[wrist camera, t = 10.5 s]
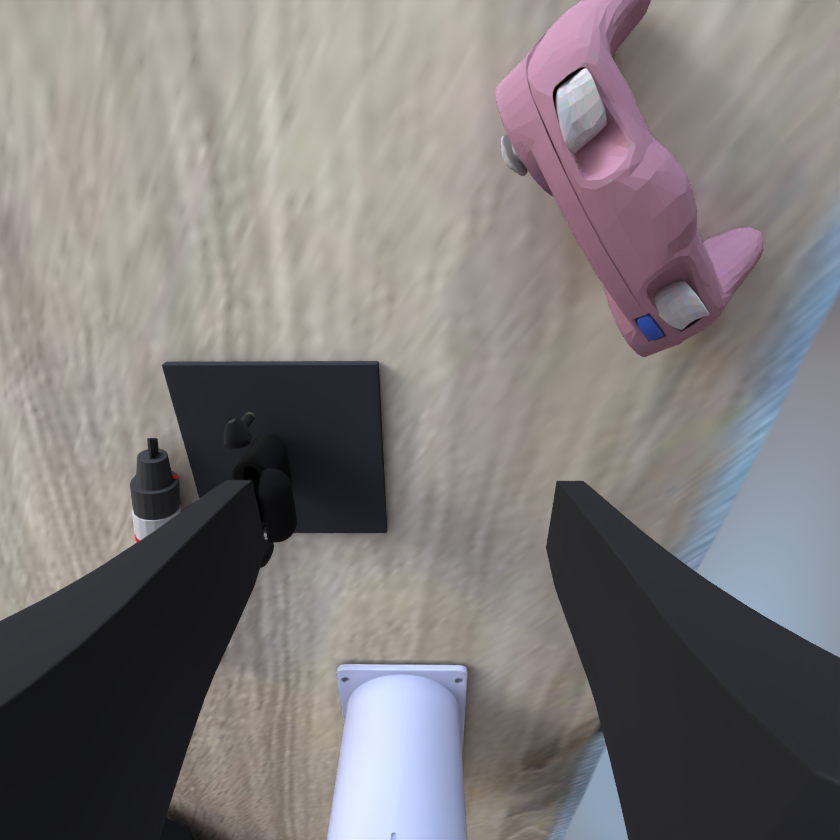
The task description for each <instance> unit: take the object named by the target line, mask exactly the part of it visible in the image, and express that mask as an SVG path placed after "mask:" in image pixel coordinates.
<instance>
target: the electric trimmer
mask: <svg viewBox="0 0 840 840" xmlns="http://www.w3.org/2000/svg"><path fill="white" fill-rule="evenodd" d="M159 840H199V839H197V838H195V837H193V836H192V833H191V830H190V828H189V827H187V826H185V825H183V824H180V823H178V822H175V821H172V820H170V819H167V818H166V819H165V822H164V826H163V829H162V832H161V836H160V839H159Z"/></svg>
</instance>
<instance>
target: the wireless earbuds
mask: <svg viewBox="0 0 840 840" xmlns="http://www.w3.org/2000/svg"><path fill="white" fill-rule="evenodd" d="M254 419H255V417H254V415H253V414H252V413H246V414H245V415H244V416H243V417H242V418H241V419H239V418H237V417H232V418H229V419H228V420H227V422H226V424H225V430H224V445H225V446H226V447H227V448H229V449H239V448H244V447H246V446H248V445H249V444H250V443H251V440H252V435H251V432H250V430H249V428H248V427H249V426H250V425H251V423H252V422H253V421H254ZM232 477H233V479H234V480H252V482H253V487H254V492H255V496H256V501H257V506H258V511H259V515H260V520H261V525H262V529H263V531H264V529H265V526H266V531H267V538H268V540H265V543H266V549H265V552H264V556H263V559H262V563H261V566H260V568H261V567H264V566H265V565H266V564H267V563H268V561H269V560H270V558H271V555H272V553H273V549H274V544H273V542H281V541H284V540H286V539H288V538H289V537H290V536H291V535H292V534H293V533H294V531H295V529H296V526H297V516H296V510H295V504H294V498H293V492H292V486H291V482H292V480H291V473H290V467H289V461H288V455H287V449H286V445H285V443H284V441H283V440H282V439H281V438H280V437H279V436H277V435H275V434H271V433H266V434H262V435H260V436H258V437H257V438H255V439H254V441H253V442H252V443H251V445H250V446H249V448H248V449H247V451H246V452H245V454H244V455H243V457H242V458H241V460H240V461H239V463H238V464H237V465H236V467H235V468H234V470H233V474H232Z"/></svg>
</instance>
